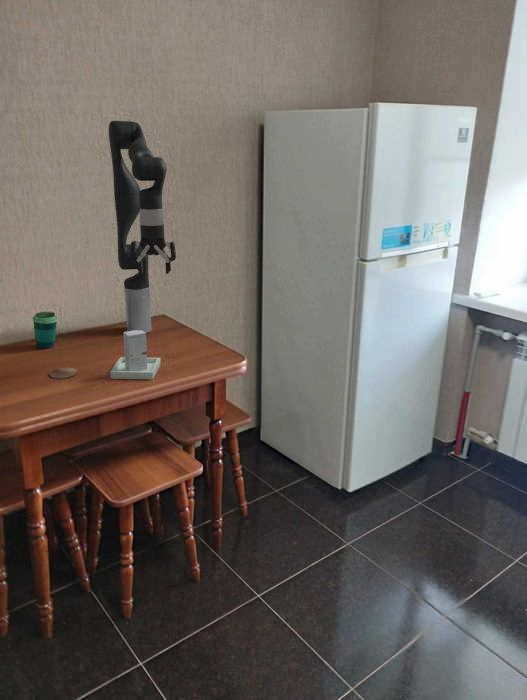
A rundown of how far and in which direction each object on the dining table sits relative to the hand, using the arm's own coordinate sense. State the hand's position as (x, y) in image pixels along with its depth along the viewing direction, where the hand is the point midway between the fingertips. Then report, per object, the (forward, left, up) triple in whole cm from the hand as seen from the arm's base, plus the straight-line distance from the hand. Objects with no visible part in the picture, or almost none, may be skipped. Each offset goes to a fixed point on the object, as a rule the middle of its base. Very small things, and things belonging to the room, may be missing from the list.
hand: (154, 273), depth 186 cm
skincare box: (+16, -4, -28) cm, 32 cm away
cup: (-5, -40, -28) cm, 49 cm away
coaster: (+20, -26, -28) cm, 43 cm away
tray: (+17, -4, -28) cm, 33 cm away
